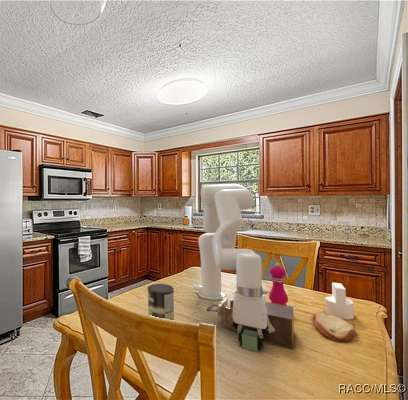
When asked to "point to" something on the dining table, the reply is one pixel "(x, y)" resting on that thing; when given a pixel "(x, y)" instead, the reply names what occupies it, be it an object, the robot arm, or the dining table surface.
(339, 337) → the slice of bread
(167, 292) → the coffee can
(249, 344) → the block
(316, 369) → the dining table surface
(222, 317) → the drawer
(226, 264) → the robot arm
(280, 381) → the dining table surface
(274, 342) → the cabinet
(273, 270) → the pepper mill
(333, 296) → the white stepped tower
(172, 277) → the dining table surface
